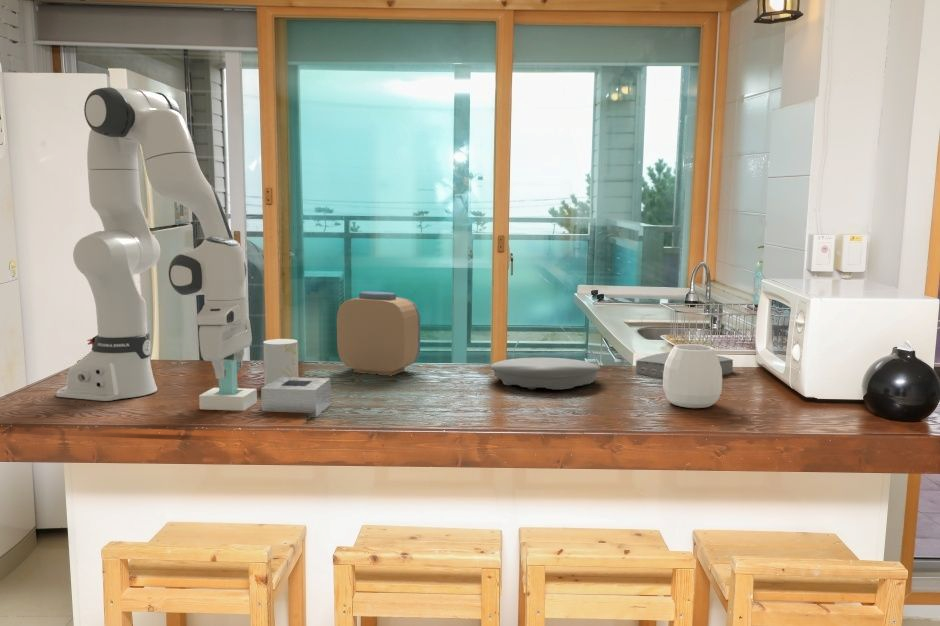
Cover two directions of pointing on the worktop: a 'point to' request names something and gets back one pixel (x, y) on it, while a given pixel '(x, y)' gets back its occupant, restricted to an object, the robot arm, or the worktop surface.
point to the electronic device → (657, 362)
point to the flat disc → (545, 372)
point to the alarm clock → (378, 333)
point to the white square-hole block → (228, 400)
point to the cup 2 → (692, 376)
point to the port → (297, 395)
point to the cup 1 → (280, 359)
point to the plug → (229, 379)
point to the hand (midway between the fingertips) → (229, 373)
